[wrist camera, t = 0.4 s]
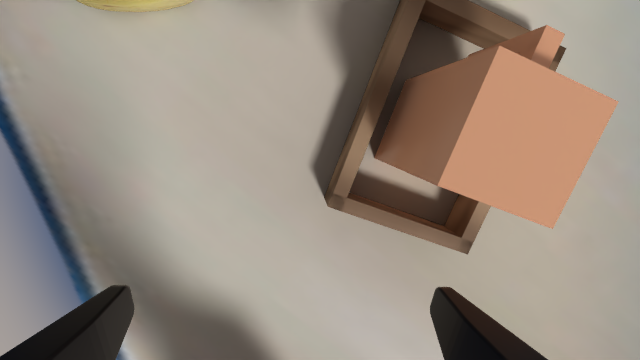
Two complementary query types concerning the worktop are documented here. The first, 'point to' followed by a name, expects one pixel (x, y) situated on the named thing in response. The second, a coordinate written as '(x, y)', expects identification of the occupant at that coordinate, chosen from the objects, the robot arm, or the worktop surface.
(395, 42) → the frame
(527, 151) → the peach box with tab
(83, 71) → the worktop surface
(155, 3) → the banana
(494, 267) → the worktop surface
